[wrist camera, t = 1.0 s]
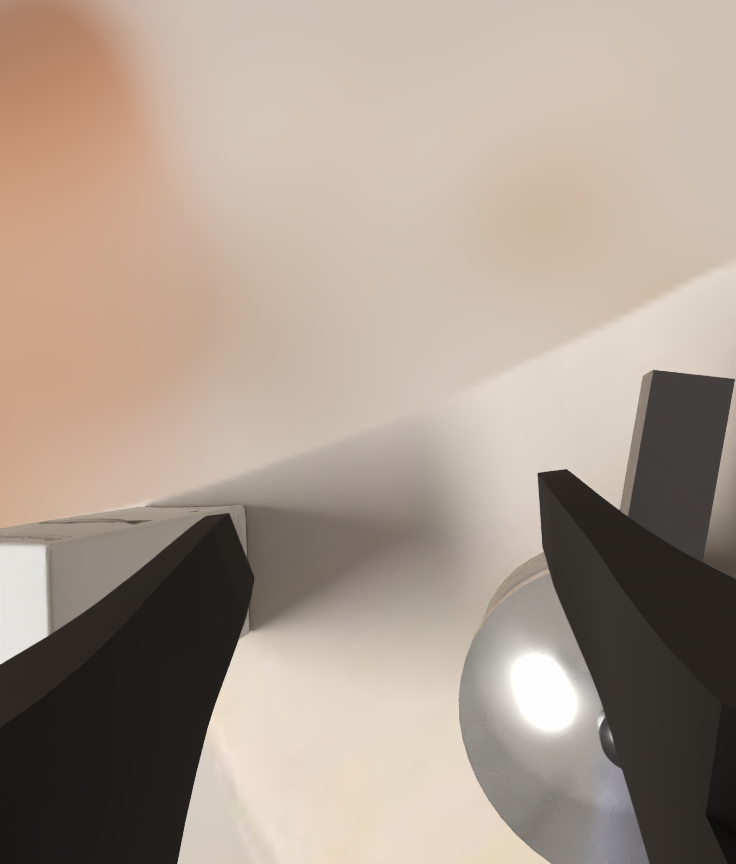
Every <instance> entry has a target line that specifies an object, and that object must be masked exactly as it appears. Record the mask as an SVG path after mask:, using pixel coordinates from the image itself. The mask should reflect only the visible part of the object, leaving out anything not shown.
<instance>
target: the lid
mask: <svg viewBox="0 0 736 864" xmlns="http://www.w3.org/2000/svg"><path fill="white" fill-rule="evenodd" d="M734 381H735V379H729V378H720V377H711V376H702V375H693V374H684V373H676V372H667V371H658V370H652V371H651V372H649V373H647V374H646V375H644V376H643V379H642V385H641V391H640V397H639V402H638V408H637V414H636V420H635V426H634V431H633V437H632V443H631V449H630V454H629V460H628V466H627V472H626V477H625V483H624V489H623V495H622V501H621V506H620V511H621V512H622V513H624V514H625V515H627V516H628V517H629V518H631V519H632V520H633V521H635V522H636V523H638V524H639V525H641V526H642V527H644V528H645V529H647V530H648V531H650V532H651V533H653V534H655V535H656V536H658V537H659V538H661V539H663V540H664V541H666V542H667V543H669V544H671V545H672V546H674V547H676V548H677V549H679V550H681V551H683V552H684V553H686V554H688V555H690V556H692V557H693V558H695V559H697V560H699V561H701V562H702V561H703V556H704V550H705V544H706V539H707V533H708V528H709V522H710V516H711V511H712V505H713V499H714V494H715V488H716V483H717V477H718V471H719V466H720V460H721V454H722V449H723V443H724V438H725V432H726V426H727V421H728V415H729V409H730V404H731V398H732V393H733V387H734ZM459 719H460V725H461V731H462V738H463V742H464V745H465V749H466V752H467V756H468V759H469V762H470V764H471V766H472V769H473V771H474V773H475V776H476V778H477V780H478V782H479V784H480V786H481V787H482V789H483V791H484V793H485V795H486V796H487V798H488V800H489V801H490V803H491V804H492V805H493V807H494V808H495V810H496V811H497V812H498V814H499V815H500V817H501V818H502V819H503V820H504V821H505V822H506V823H507V825H508V826H509V827H510V828H511V829H512V830H513V831H514V832H515V834H516V835H517V836H519V837H520V838H521V839H522V840H523V841H524V842H525V843H526V844H527V845H528V846H529V847H531V848H532V849H533V850H534V851H535V852H537V853H538V854H539V855H541V856H542V857H543V858H545V859H546V860H547V861H549V862H550V863H551V864H649V860H648V857H647V853H646V850H645V846H644V843H643V839H642V836H641V832H640V829H639V825H638V822H637V818H636V815H635V812H634V808H633V805H632V801H631V798H630V795H629V791H628V788H627V785H626V781H625V778H624V775H623V771H622V768H621V765H620V761H619V758H618V755H617V751H616V748H615V745H614V742H613V739H612V735H611V732H610V729H609V726H608V723H607V719H606V716H605V713H604V710H603V707H602V703H601V700H600V698H599V695H598V692H597V690H596V687H595V684H594V682H593V679H592V677H591V674H590V672H589V669H588V667H587V665H586V662H585V660H584V658H583V655H582V653H581V651H580V648H579V646H578V643H577V641H576V639H575V636H574V634H573V632H572V629H571V627H570V625H569V622H568V620H567V617H566V615H565V613H564V610H563V608H562V605H561V603H560V601H559V598H558V596H557V593H556V591H555V588H554V586H553V582H552V579H551V575H550V572H549V569H547V570H544V571H541V572H539V573H537V574H536V575H534V576H532V577H530V578H528V579H526V580H524V581H523V582H521V583H520V584H519V585H517V586H516V587H514V588H513V589H512V590H510V591H509V592H508V593H507V594H506V595H504V596H503V597H502V598H501V599H500V600H499V601H498V602H497V603H496V604H495V605H494V606H493V608H492V609H491V610H490V612H489V613H488V614H487V615H486V617H485V618H484V619H483V621H482V623H481V624H480V626H479V628H478V630H477V631H476V633H475V635H474V637H473V640H472V642H471V645H470V648H469V650H468V653H467V656H466V660H465V664H464V668H463V672H462V676H461V682H460V692H459Z"/></svg>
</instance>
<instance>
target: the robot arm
mask: <svg viewBox="0 0 736 864" xmlns="http://www.w3.org/2000/svg"><path fill="white" fill-rule="evenodd" d="M538 486H539V501H540V516H541V531H542V545H543V550H544V554H545V557H546V561H547V565H548V568H549V572H550V575H551V579H552V582H553V586H554V588H555V591H556V593H557V596H558V598H559V601H560V603H561V605H562V608H563V610H564V613H565V615H566V617H567V620H568V622H569V625H570V627H571V629H572V632H573V634H574V636H575V639H576V641H577V643H578V646H579V648H580V651H581V653H582V655H583V658H584V660H585V662H586V665H587V667H588V669H589V672H590V674H591V677H592V679H593V682H594V684H595V687H596V690H597V692H598V695H599V698H600V700H601V703H602V707H603V710H604V713H605V716H606V719H607V723H608V726H609V729H610V732H611V735H612V739H613V742H614V745H615V748H616V751H617V755H618V758H619V761H620V765H621V768H622V771H623V775H624V778H625V781H626V785H627V788H628V791H629V795H630V798H631V801H632V805H633V808H634V812H635V815H636V818H637V822H638V825H639V829H640V832H641V836H642V839H643V843H644V846H645V850H646V853H647V857H648V860H649V864H736V579H734V578H732V577H730V576H728V575H726V574H724V573H722V572H720V571H718V570H716V569H714V568H712V567H710V566H708V565H707V564H705V563H703V562H701V561H699V560H697V559H695V558H693V557H692V556H690V555H688V554H686V553H684V552H683V551H681V550H679V549H677V548H676V547H674V546H672V545H671V544H669V543H667V542H666V541H664V540H663V539H661V538H659V537H658V536H656V535H655V534H653V533H651V532H650V531H648V530H647V529H645V528H644V527H642V526H641V525H639V524H638V523H636V522H635V521H633V520H632V519H631V518H629V517H628V516H627V515H625V514H624V513H622V512H621V511H620V510H618V509H617V508H615V507H614V506H613V505H611V504H610V503H609V502H608V501H606V500H605V499H604V498H602V497H601V496H600V495H599V494H597V493H596V492H595V491H593V490H592V489H591V488H590V487H588V486H587V485H586V484H585V483H583V482H582V481H581V480H580V479H579V478H577V477H576V476H575V475H573V474H572V473H571V472H570V471H568V470H567V469H565V470H557V471H549V472H541V473H538ZM253 583H254V575H253V573H252V570H251V568H250V565H249V563H248V560H247V557H246V555H245V552H244V550H243V547H242V544H241V542H240V539H239V537H238V534H237V531H236V529H235V526H234V524H233V521H232V518H231V516H230V513H225V514H217V515H209V516H205V517H204V518H202V519H201V520H199V521H198V522H197V523H195V524H194V525H193V526H191V527H190V528H189V529H188V530H186V531H185V532H184V533H183V534H181V535H180V536H179V537H178V538H177V539H175V540H174V541H173V542H172V543H171V544H169V545H168V546H167V547H166V548H165V549H163V550H162V551H161V552H160V553H159V554H157V555H156V556H155V557H154V558H153V559H151V560H150V561H149V562H148V563H147V564H145V565H144V566H143V567H142V568H141V569H139V570H138V571H137V572H136V573H134V574H133V575H132V576H131V577H129V578H128V579H127V580H126V581H124V582H123V583H122V584H120V585H119V586H118V587H117V588H115V589H114V590H113V591H111V592H110V593H109V594H108V595H106V596H105V597H104V598H102V599H101V600H100V601H98V602H97V603H96V604H94V605H93V606H92V607H90V608H89V609H87V610H86V611H85V612H83V613H82V614H80V615H79V616H77V617H76V618H74V619H73V620H71V621H70V622H68V623H67V624H65V625H64V626H62V627H61V628H60V629H58V630H57V631H55V632H53V633H52V634H50V635H49V636H47V637H46V638H44V639H42V640H41V641H39V642H37V643H35V644H34V645H32V646H30V647H29V648H27V649H25V650H24V651H22V652H20V653H19V654H17V655H15V656H14V657H12V658H10V659H8V660H7V661H5V662H3V663H2V664H0V864H177V862H178V857H179V852H180V846H181V841H182V836H183V831H184V826H185V821H186V816H187V812H188V807H189V803H190V799H191V794H192V789H193V785H194V780H195V776H196V772H197V768H198V764H199V760H200V756H201V752H202V748H203V744H204V740H205V736H206V732H207V728H208V725H209V722H210V718H211V715H212V712H213V709H214V706H215V703H216V700H217V698H218V695H219V692H220V689H221V687H222V684H223V681H224V678H225V676H226V673H227V670H228V667H229V665H230V662H231V659H232V656H233V654H234V651H235V648H236V645H237V643H238V640H239V637H240V634H241V631H242V628H243V625H244V623H245V620H246V617H247V612H248V608H249V603H250V599H251V594H252V588H253Z"/></svg>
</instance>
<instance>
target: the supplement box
mask: <svg viewBox="0 0 736 864" xmlns="http://www.w3.org/2000/svg"><path fill="white" fill-rule="evenodd" d="M225 513H230V516H231V518H232V521H233V524H234V526H235V529H236V531H237V534H238V537H239V539H240V542H241V544H242V547H243V550H244V552H245V555H246V557H247V539H246V517H245V508H244V506H243V505H232V506H217V507H171V508H163V507H136V508H131V509H124V510H117V511H110V512H104V513H96V514H90V515H83V516H77V517H70V518H64V519H57V520H50V521H44V522H38V523H32V524H25V525H19V526H13V527H8V528H1V529H0V664H2V663H3V662H5V661H7V660H8V659H10V658H12V657H14V656H15V655H17V654H19V653H20V652H22V651H24V650H25V649H27V648H29V647H30V646H32V645H34V644H35V643H37V642H39V641H41V640H42V639H44V638H46V637H47V636H49V635H50V634H52V633H53V632H55V631H57V630H58V629H60V628H61V627H62V626H64V625H65V624H67V623H68V622H70V621H71V620H73V619H74V618H76V617H77V616H79V615H80V614H82V613H83V612H85V611H86V610H87V609H89V608H90V607H92V606H93V605H94V604H96V603H97V602H98V601H100V600H101V599H102V598H104V597H105V596H106V595H108V594H109V593H110V592H111V591H113V590H114V589H115V588H117V587H118V586H119V585H120V584H122V583H123V582H124V581H126V580H127V579H128V578H129V577H131V576H132V575H133V574H134V573H136V572H137V571H138V570H139V569H141V568H142V567H143V566H144V565H145V564H147V563H148V562H149V561H150V560H151V559H153V558H154V557H155V556H156V555H157V554H159V553H160V552H161V551H162V550H163V549H165V548H166V547H167V546H168V545H169V544H171V543H172V542H173V541H174V540H175V539H177V538H178V537H179V536H180V535H181V534H183V533H184V532H185V531H186V530H188V529H189V528H190V527H191V526H193V525H194V524H195V523H197V522H198V521H199V520H201V519H202V518H204V517H205V516H209V515H217V514H225ZM248 633H249V608H248V612H247V617H246V620H245V623H244V625H243V628H242V631H241V634H240V637H239V639H240V638H242V637H243V636H245V635H247V634H248Z"/></svg>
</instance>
